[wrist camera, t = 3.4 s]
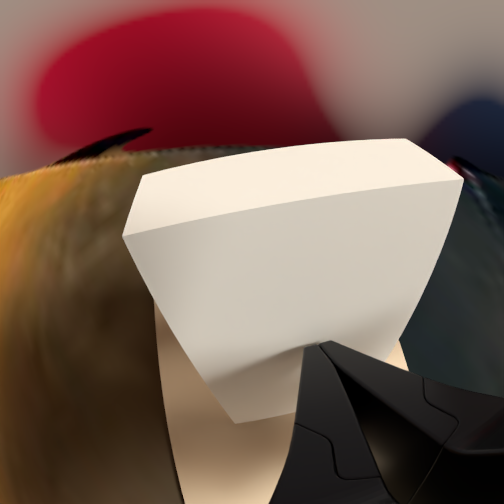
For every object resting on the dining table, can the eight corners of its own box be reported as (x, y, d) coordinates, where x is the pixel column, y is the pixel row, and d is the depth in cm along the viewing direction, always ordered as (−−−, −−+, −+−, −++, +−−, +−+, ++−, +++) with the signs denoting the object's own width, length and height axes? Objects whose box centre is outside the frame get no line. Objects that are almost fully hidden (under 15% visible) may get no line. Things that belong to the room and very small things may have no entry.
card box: (366, 390, 13) (463, 178, 5) (234, 424, 12) (121, 236, 4) (351, 353, 15) (404, 137, 7) (228, 382, 14) (143, 174, 6)
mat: (425, 457, 11) (429, 458, 10) (192, 518, 10) (190, 520, 10) (325, 178, 22) (326, 174, 22) (154, 210, 21) (153, 206, 21)
